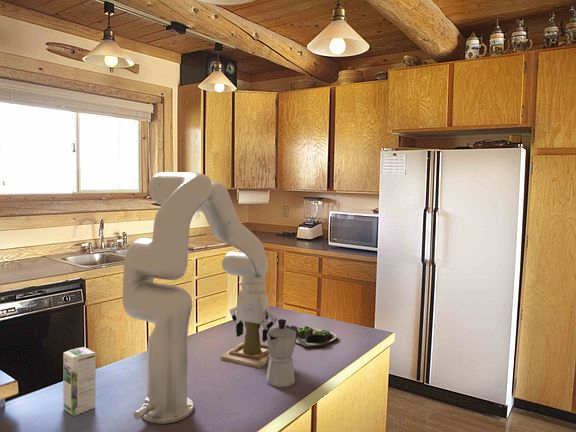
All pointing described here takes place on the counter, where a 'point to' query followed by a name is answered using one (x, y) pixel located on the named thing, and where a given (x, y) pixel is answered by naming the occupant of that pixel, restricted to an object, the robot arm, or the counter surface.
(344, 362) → the counter surface
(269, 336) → the coffee maker
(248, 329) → the cork
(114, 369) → the counter surface
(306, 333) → the salad plate
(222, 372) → the counter surface
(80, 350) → the syrup box
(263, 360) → the maple board
